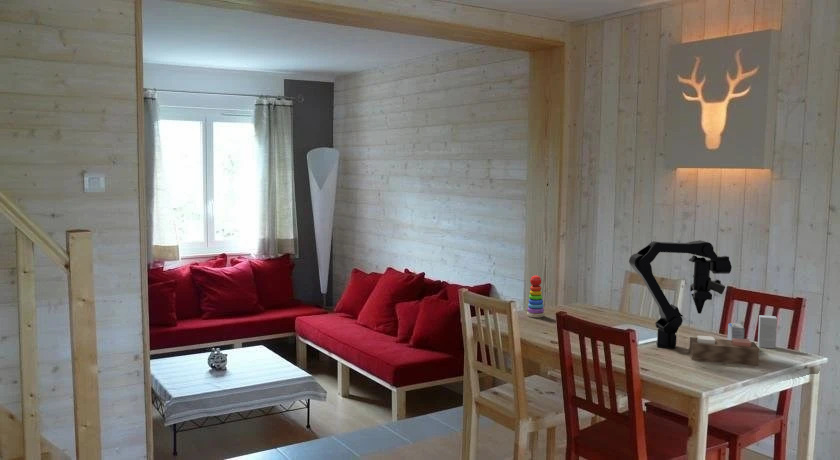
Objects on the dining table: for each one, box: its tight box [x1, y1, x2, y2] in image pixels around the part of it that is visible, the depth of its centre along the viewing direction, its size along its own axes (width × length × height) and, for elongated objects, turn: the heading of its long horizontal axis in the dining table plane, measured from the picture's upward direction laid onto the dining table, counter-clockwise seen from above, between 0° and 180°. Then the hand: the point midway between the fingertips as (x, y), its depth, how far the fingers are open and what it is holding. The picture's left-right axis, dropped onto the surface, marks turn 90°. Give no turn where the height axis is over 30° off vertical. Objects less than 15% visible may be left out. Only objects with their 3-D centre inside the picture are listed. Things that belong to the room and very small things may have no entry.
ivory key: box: [696, 335, 716, 344], centre depth 258 cm, size 6×6×4 cm
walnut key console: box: [688, 336, 760, 366], centre depth 257 cm, size 22×10×6 cm, turn 75°
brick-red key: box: [732, 338, 752, 347], centre depth 255 cm, size 6×6×4 cm
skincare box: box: [757, 314, 778, 349], centre depth 275 cm, size 6×4×12 cm
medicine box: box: [726, 322, 745, 340], centre depth 273 cm, size 8×4×9 cm, turn 168°
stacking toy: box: [526, 275, 545, 318], centre depth 322 cm, size 8×8×19 cm
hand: (699, 313), depth 273 cm, fingers closed
